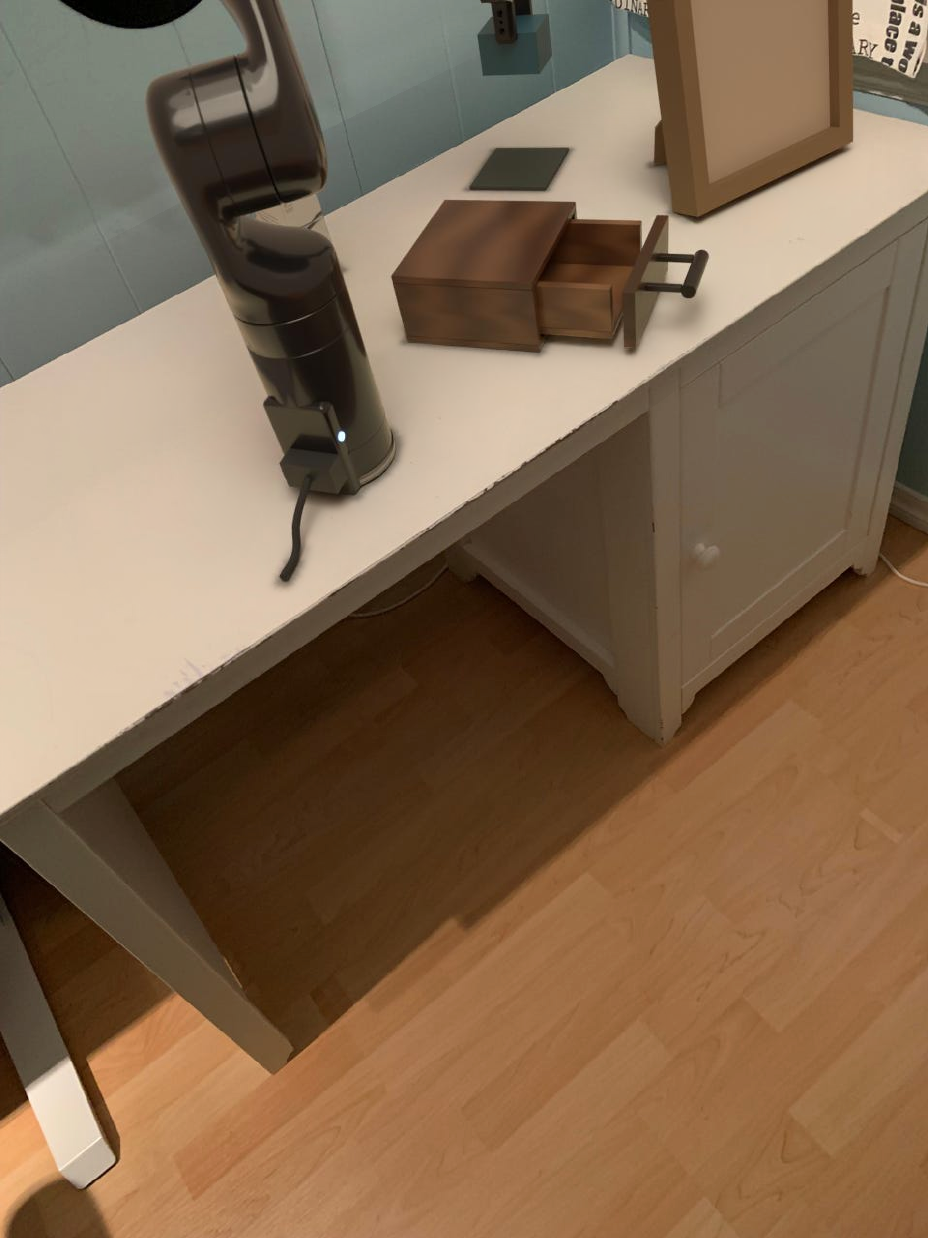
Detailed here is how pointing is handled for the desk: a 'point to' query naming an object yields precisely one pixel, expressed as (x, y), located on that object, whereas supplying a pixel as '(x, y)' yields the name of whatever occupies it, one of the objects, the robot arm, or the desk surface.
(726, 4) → the photo frame
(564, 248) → the drawer
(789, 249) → the desk surface
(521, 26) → the card box
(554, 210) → the cabinet
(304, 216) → the ink box
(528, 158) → the mat
